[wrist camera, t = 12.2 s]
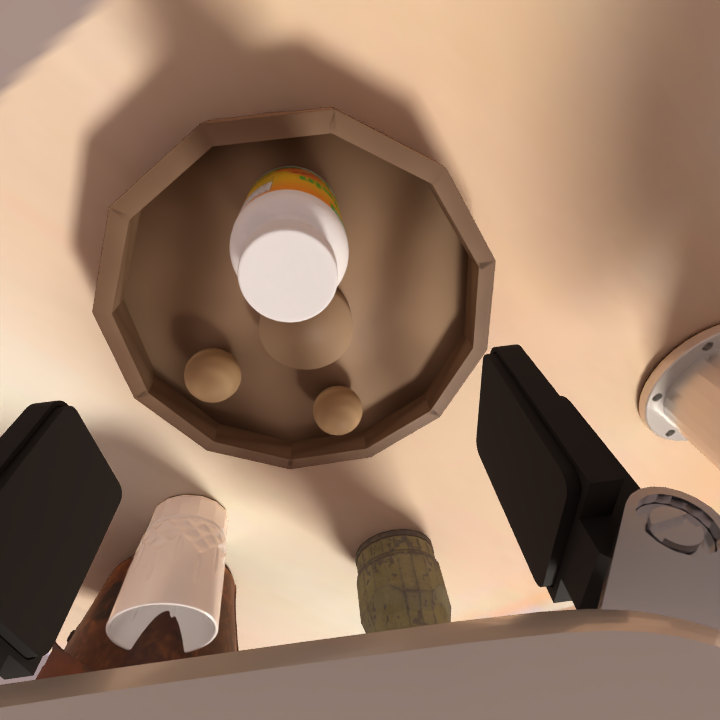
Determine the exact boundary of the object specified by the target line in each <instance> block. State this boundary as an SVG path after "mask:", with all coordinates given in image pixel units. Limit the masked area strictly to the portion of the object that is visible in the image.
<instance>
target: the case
mask: <svg viewBox="0 0 720 720" xmlns="http://www.w3.org/2000/svg"><path fill="white" fill-rule="evenodd" d="M133 558H134V556H133V557H131V558H129V559H128V560H126V561H124V562H123V563H121V564H120V565H119V566H118V567H117V568H116V569H115V570H114V571H113V572H112V574H111V575H110V576H109V578H108V580H107V581H106V583H105V585H104V586H103V588H102V590H101V591H100V593H99V594H98V596H97V598H96V599H95V601H94V602H93V604H92V605H91V607H90V609H89V610H88V612H87V613H86V615H85V617H84V618H83V620H82V621H81V623H80V624H79V625H78V627H77V628H76V630H73V631H72V632H71V633H70V635H69V637H68V639H67V642H68V643H67V645H66V647H65V649H64V650H63V649H62V648H61V647H60V646H59V645H58V644H57V643H56V641H55V643H54V645H53V647H52V652H51V653H50V655H49V657H48V659H47V661H46V663H45V665H44V666H43V667H42V669H41V671H40V673H39V674H38V676H37V678H36V680H38V679H45V678H52V677H59V676H66V675H73V674H79V673H86V672H93V671H100V670H107V669H114V668H121V667H128V666H135V665H142V664H149V663H156V662H164V661H171V660H178V659H185V658H192V657H199V656H206V655H213V654H221V653H228V652H235V651H238V640H237V624H236V585H235V584H234V580H233V577H232V575H231V573H230V572H229V571H228V570H227V569H226V568H225V571H224V581H223V590H222V599H221V608H220V618H219V628H218V633H217V635H216V637H215V638H214V639H213V640H212V641H211V642H210V643H209V644H207V645H206V646H204V647H202V648H200V649H197V650H195V651H192V652H188V653H186V652H184V646H183V640H182V635H181V631H180V627H179V624H178V621H177V619H176V617H175V616H174V617H171V616H170V612H169V611H164V612H162V613H160V614H159V615H158V616H156V617H155V618H154V619H153V620H152V621H151V623H150V624H149V625H148V626H147V627H146V629H145V630H144V631H143V632H142V634H141V635H140V637H139V638H138V639H137V641H136V642H135V644H134V645H133V647H132V648H131V649H130V650H126V649H123V648H121V647H119V646H117V645H116V644H114V643H113V642H112V641H111V640H110V639H109V638H108V636H107V634H106V624H107V622H108V619H109V617H110V614H111V612H112V609H113V607H114V604H115V602H116V599H117V597H118V595H119V592H120V590H121V587H122V585H123V582H124V580H125V577H126V574H127V572H128V569H129V567H130V565H131V563H132V561H133Z"/></svg>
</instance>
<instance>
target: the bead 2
mask: <svg viewBox="0 0 720 720" xmlns="http://www.w3.org/2000/svg"><path fill="white" fill-rule="evenodd" d="M313 415H314V419H315V421H316V423H317V425H318V426H319V427H320V428H321V429H322V430H323V431H325V432H326V433H328V434H331V435H344V434H347V433H349V432H351V431H352V430H354V429H355V428H356V427H357V425H358V424H359V422H360V420H361V417H362V404H361V401H360V399H359V397H358V396H357V394H356V393H355V392H354V391H352V390H351V389H349V388H347V387H344V386H332V387H329V388H327V389H325V390H323V391H322V392H321V393H320V394H319V395H318V396H317V398H316V400H315V402H314V406H313Z"/></svg>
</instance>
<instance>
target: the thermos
mask: <svg viewBox="0 0 720 720" xmlns="http://www.w3.org/2000/svg"><path fill="white" fill-rule="evenodd" d="M356 566H357V570H358V577H357V590H358V599H359V608H360V617H361V624H362V626H363V628H364V630H365V632H366V634H367V633H374V632H382V631H389V630H397V629H404V628H412V627H419V626H426V625H434V624H441V623H449V622H451V605H450V602H449V598H448V595H447V591H446V588H445V584H444V580H443V577H442V573H441V570H440V566H439V563H438V562H437V561H436V559H435V557H434V550H433V547H432V543H431V540H430V539H429V538H428V537H427V536H426V535H424V534H422V533H419V532H417V531H412V530H405V529H404V530H391V531H388V532H384V533H380V534H378V535H376V536H374V537H372V538H370V539H368V540H367V541H366V542H365V543H363V544H362V545H361V546H360V548H359V549H358V551H357V553H356Z"/></svg>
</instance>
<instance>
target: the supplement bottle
mask: <svg viewBox="0 0 720 720" xmlns="http://www.w3.org/2000/svg"><path fill="white" fill-rule="evenodd" d="M230 257H231V262H232V266H233V268H234V271H235V273H236V275H237V276H238V283H239V286H240V289H241V292H242V294H243V296H244V297H245V299H246V300H247V302H248V303H249V304H250V305H251V306H252V307H253V308H254V309H255V310H256V311H257V312H259V313H260V314H262V315H264V316H265V317H267V318H270V319H273V320H276V321H281V322H299V321H303V320H307V319H309V318H312V317H314V316H315V315H317V314H319V313H320V312H322V311H323V310H324V309H325V308H326V307H327V306H328V304H329V303H330V302H331V300H332V298H333V297H334V294H335V292H336V289H337V286H338V285H339V283H340V282H341V280H342V278H343V276H344V274H345V271H346V268H347V264H348V257H349V248H348V240H347V235H346V231H345V228H344V225H343V221H342V217H341V213H340V209H339V205H338V202H337V199H336V197H335V195H334V193H333V191H332V189H331V188H330V186H329V185H328V184H327V183H326V182H325V181H324V180H323V179H322V178H321V177H320V176H319V175H317V174H316V173H314V172H312V171H310V170H308V169H305V168H302V167H297V166H284V167H279V168H276V169H273V170H271V171H269V172H267V173H266V174H264V175H263V176H262V177H261V178H259V179H258V180H257V181H256V183H255V184H254V185H253V187H252V188H251V190H250V192H249V193H248V196H247V198H246V200H245V202H244V204H243V206H242V208H241V211H240V213H239V215H238V217H237V219H236V221H235V223H234V226H233V229H232V233H231V237H230Z"/></svg>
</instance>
